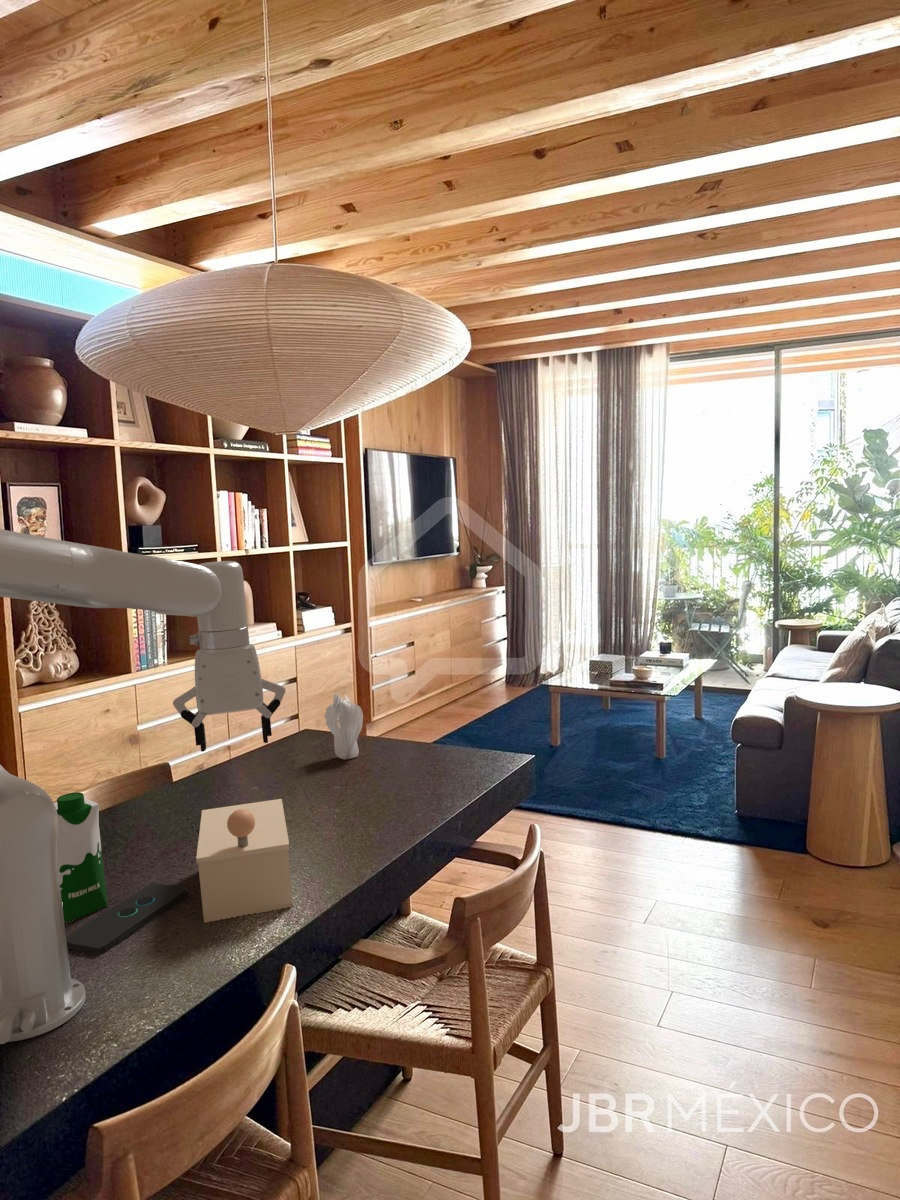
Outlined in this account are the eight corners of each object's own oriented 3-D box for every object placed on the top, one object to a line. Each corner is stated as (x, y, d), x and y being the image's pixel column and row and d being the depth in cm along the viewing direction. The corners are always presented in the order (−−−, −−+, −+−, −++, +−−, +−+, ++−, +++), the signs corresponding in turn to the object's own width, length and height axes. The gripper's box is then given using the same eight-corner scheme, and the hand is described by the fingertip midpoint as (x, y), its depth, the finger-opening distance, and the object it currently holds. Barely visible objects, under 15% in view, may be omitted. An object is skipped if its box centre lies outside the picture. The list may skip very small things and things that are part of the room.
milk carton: (63, 927, 130) (49, 807, 128) (38, 912, 135) (24, 797, 133) (115, 905, 136) (103, 791, 134) (89, 892, 142) (76, 782, 140)
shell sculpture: (352, 750, 219) (347, 685, 217) (367, 757, 212) (362, 690, 210) (324, 757, 214) (319, 691, 212) (339, 764, 207) (334, 695, 205)
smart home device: (189, 887, 139) (101, 947, 120) (190, 896, 139) (102, 958, 121) (151, 881, 142) (59, 939, 123) (152, 891, 142) (60, 950, 124)
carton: (293, 906, 132) (288, 848, 131) (204, 922, 129) (198, 862, 127) (285, 854, 153) (281, 803, 152) (208, 866, 150) (203, 814, 149)
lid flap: (289, 848, 131) (286, 808, 130) (196, 863, 127) (192, 822, 126) (282, 802, 152) (279, 768, 151) (202, 814, 149) (199, 778, 148)
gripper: (164, 649, 122) (176, 759, 124) (281, 637, 126) (291, 743, 128) (168, 642, 129) (180, 746, 131) (279, 631, 133) (288, 732, 135)
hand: (234, 744), depth 129 cm, fingers open, 9 cm apart
